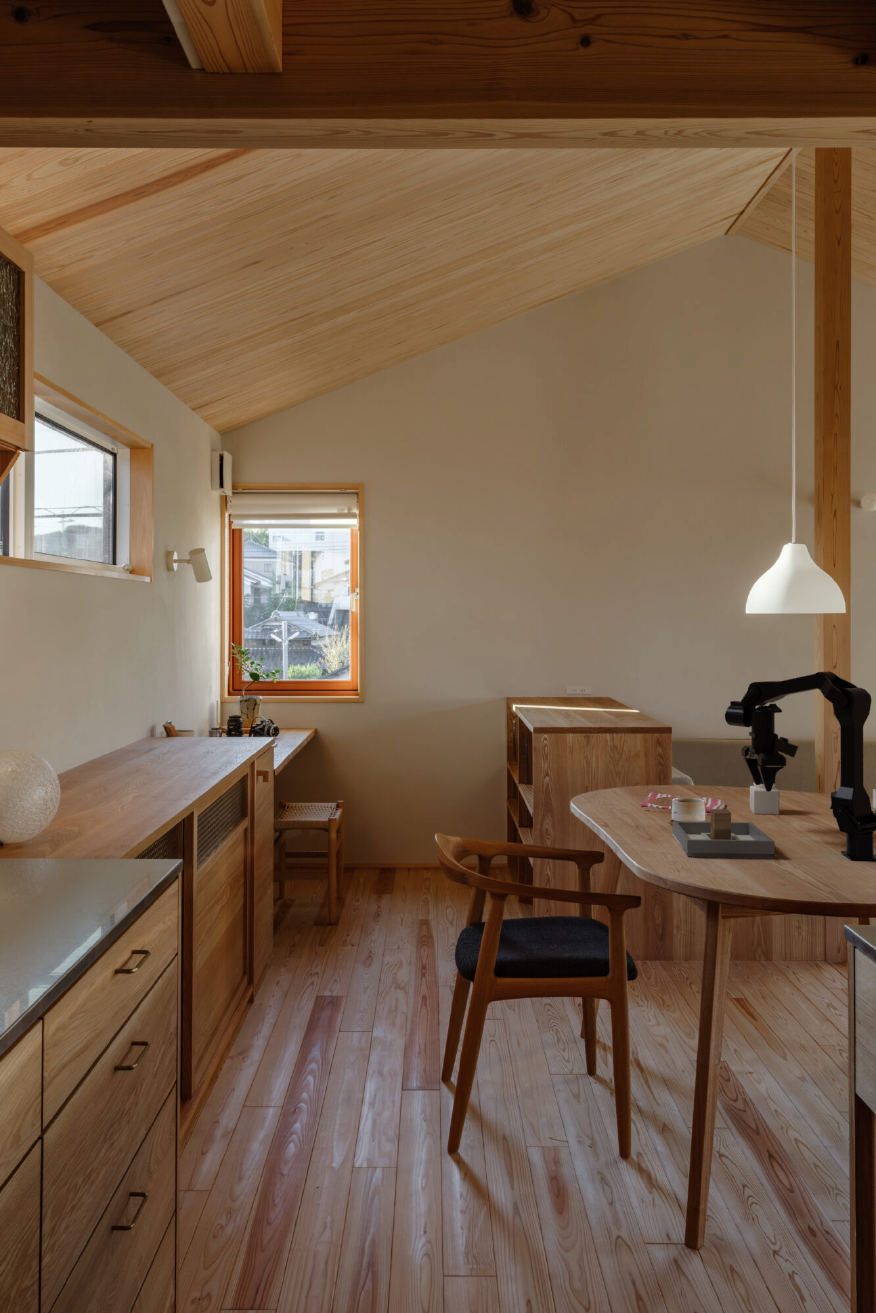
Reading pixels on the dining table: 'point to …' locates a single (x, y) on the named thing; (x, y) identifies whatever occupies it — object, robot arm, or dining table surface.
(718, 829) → the peg
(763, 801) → the medicine bottle
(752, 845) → the walled box
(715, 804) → the dish towel
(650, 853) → the dining table surface
